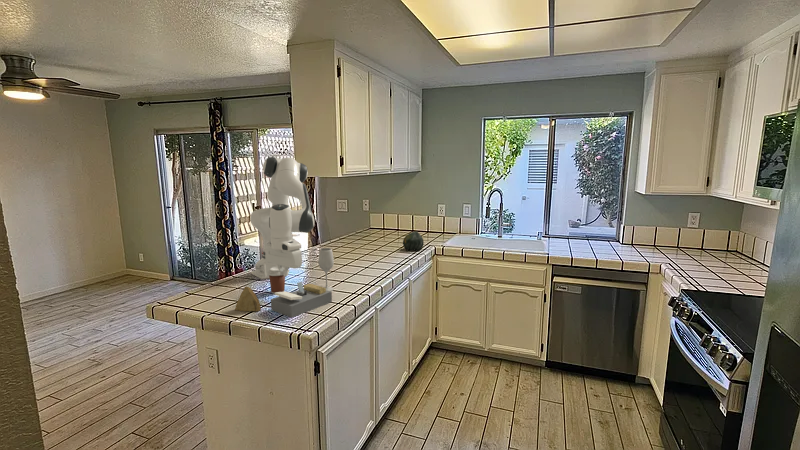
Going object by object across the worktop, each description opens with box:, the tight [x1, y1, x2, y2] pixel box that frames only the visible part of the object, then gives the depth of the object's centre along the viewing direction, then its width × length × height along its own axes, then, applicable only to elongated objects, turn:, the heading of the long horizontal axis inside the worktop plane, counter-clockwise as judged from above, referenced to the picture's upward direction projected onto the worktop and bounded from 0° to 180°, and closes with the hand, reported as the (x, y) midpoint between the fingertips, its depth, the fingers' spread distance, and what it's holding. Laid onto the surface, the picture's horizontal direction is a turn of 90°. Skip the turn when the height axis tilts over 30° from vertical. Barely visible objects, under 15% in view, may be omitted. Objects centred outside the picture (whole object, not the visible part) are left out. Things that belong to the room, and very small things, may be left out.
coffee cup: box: [268, 267, 286, 295], centre depth 195 cm, size 9×9×12 cm
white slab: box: [274, 291, 302, 300], centre depth 170 cm, size 11×6×1 cm, turn 54°
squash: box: [402, 231, 425, 251], centre depth 288 cm, size 14×15×15 cm
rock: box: [234, 286, 262, 312], centre depth 171 cm, size 11×9×10 cm
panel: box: [270, 287, 333, 318], centre depth 176 cm, size 14×23×7 cm, turn 144°
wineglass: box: [317, 247, 335, 292], centre depth 198 cm, size 8×8×21 cm
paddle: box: [296, 281, 305, 295], centre depth 176 cm, size 2×2×6 cm
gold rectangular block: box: [303, 283, 326, 294], centre depth 182 cm, size 11×4×2 cm, turn 54°
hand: (283, 275), depth 166 cm, fingers closed
